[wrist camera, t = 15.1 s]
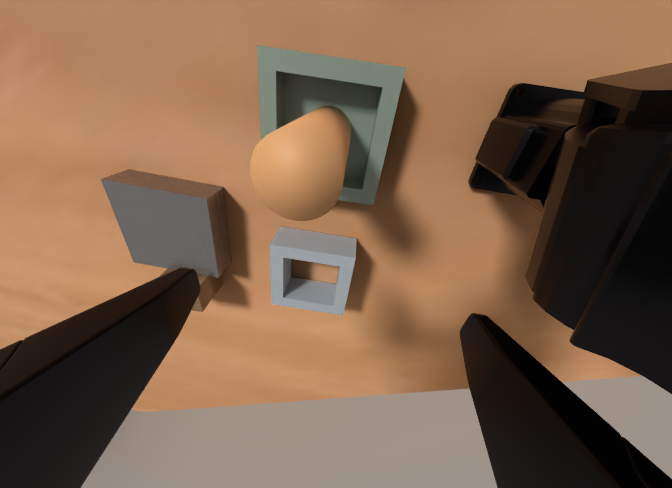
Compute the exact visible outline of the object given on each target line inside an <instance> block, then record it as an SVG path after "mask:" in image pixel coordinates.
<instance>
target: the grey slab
mask: <svg viewBox="0 0 672 488" xmlns="http://www.w3.org/2000/svg"><path fill="white" fill-rule="evenodd" d="M101 181H102V183H103V186H104V188H105V191H106V193H107V196H108V198H109V201H110V203H111V206H112V208H113V211H114V213H115V216H116V218H117V221H118V224H119V226H120V229H121V231H122V234H123V236H124V239H125V241H126V244H127V246H128V249H129V251H130V254H131V256H132V259H133V261H134V262H135V263H141V264H146V265H152V266H157V267H163V268H168V269H173V270H176V269H178V268H181V267H185V268H192V269H195V270H196V272H197V274H201V275H206V276H211V277H217V278H219V277H220V275H221V274H222V273H223V271H224V270H225V269H226V267H227V266H228V265H229V263H230V262H231V252H230V243H229V233H228V224H227V215H226V205H225V196H224V187H221V186H216V185H210V184H205V183H200V182H194V181H189V180H184V179H178V178H173V177H168V176H162V175H157V174H152V173H146V172H141V171H136V170H130V169H129V170H126V171H123V172H120V173H117V174H115V175H112V176H109V177H106V178H103V179H101Z"/></svg>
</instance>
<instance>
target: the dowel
mask: <svg viewBox="0 0 672 488" xmlns="http://www.w3.org/2000/svg"><path fill="white" fill-rule="evenodd" d="M351 134H352V129H351V124H350V121H349V119H348V117H347V116H346V114H345V113H344V112H343V111H342V110H340V109H339V108H337V107H334V106H322V107H319V108H317V109H315V110H313V111H311V112H309V113H308V114H306V115H304V116H302V117H300V118H298V119H296V120H294V121H292V122H290V123H288V124H286V125H284V126H283V127H281V128H279V129H277V130H275V131H273V132H271V133H269V134H268V135H266V136H265V137H264V138H263V139H262V140H261V141H260V142H259V143H258V144H257V146H256V148H255V149H254V152H253V154H252V157H251V162H250V175H251V180H252V184H253V187H254V189H255V191H256V193H257V195H258V196H259V198H260V199H261V201H262V202H263V203H264V204H265V205H266V206H267V207H268V208H269V209H271V210H272V211H273V212H275V213H276V214H278V215H280V216H282V217H284V218H288V219H291V220H297V221H307V220H313V219H316V218H319V217H321V216H323V215H324V214H326V213H327V212H329V211H330V210H331V209H332V208H333V207H334V205H335V204H336V203H337V201H338V199H339V197H340V194H341V192H342V187H343V181H344V175H345V170H346V164H347V158H348V152H349V147H350V141H351Z"/></svg>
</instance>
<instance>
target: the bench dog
mask: <svg viewBox="0 0 672 488" xmlns="http://www.w3.org/2000/svg"><path fill="white" fill-rule="evenodd" d="M172 271H174V270H173V269H167V270H166V271H165V272H164V273H163V274H161V275H160V276H159V277H161V276H163V275H165V274H167V273H169V272H172ZM197 275H198V279H199V283H200V287H201V290H200V294H199V296H198V298H197V300H196V302H195V304H194V306H193V308H192V310H194V311H200V312H203V311H204V309H205V308H206V306H207V305H208V304H209V302H210V301H211V299H212V298H213V297H214V295H215V294H216V292H217V291H218V289H219V288H220V287H221V285H222V284H223V283H222V277H221V275H220V277H219V278H217V277H211V276H206V275H201V274H197Z"/></svg>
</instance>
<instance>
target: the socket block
mask: <svg viewBox="0 0 672 488" xmlns="http://www.w3.org/2000/svg"><path fill="white" fill-rule="evenodd" d="M356 240H357V238H350V237H344V236H338V235H331V234H325V233H319V232H312V231H306V230H300V229H293V228H287V227H281V226H280V228H279V230H278V231H277V233H276V235H275V236H274V238H273V240H272V242H271V243H270V267H271V298H272V304H274V305H281V306H287V307H293V308H299V309H306V310H312V311H318V312H324V313H331V314H337V315H344V310H345V305H346V301H347V296H348V292H349V287H350V282H351V278H352V273H353V269H354V264H355V260H356ZM291 259H296V260H302V261H308V262H314V263H321V264H327V265H333V266H339V271H338V277H337V283H336V284H333V283H327V282H320V281H314V280H308V279H301V278H295V277H291Z"/></svg>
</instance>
